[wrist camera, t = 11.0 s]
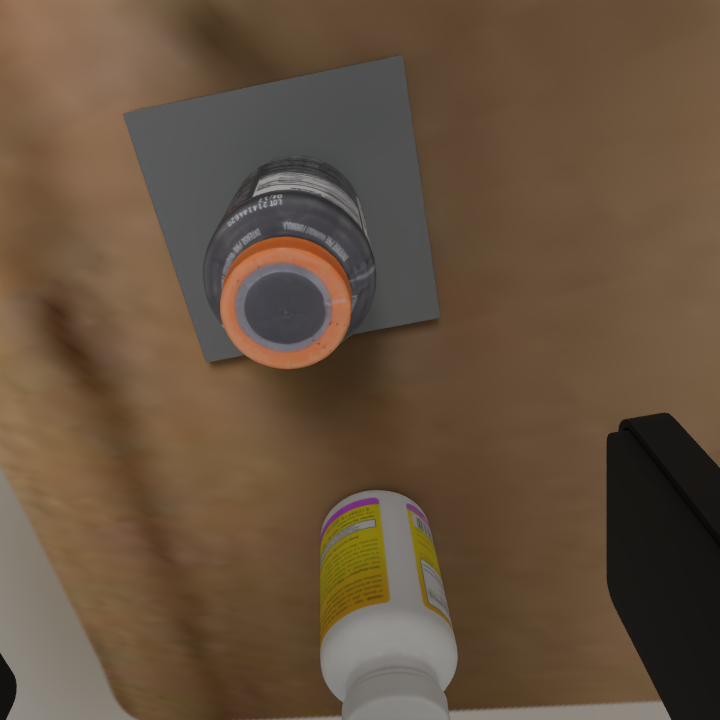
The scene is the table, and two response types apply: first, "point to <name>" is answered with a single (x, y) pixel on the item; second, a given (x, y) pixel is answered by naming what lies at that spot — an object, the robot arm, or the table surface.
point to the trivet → (289, 138)
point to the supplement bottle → (384, 611)
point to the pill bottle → (291, 263)
